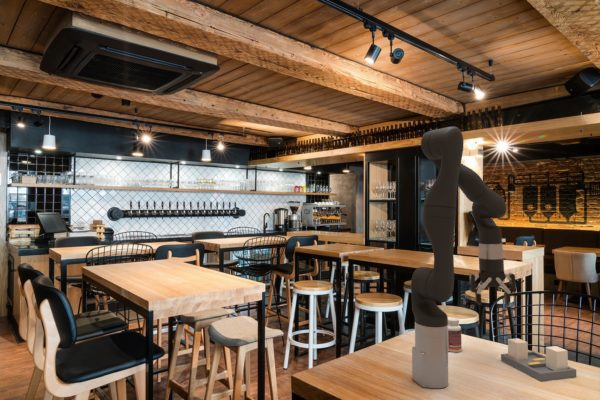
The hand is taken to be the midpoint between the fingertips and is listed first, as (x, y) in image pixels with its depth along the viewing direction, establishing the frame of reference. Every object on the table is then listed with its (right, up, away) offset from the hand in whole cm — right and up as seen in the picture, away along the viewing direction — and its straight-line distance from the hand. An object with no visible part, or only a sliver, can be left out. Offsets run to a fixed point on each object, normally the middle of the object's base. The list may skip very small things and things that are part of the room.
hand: (493, 304), depth 133 cm
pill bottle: (-10, -19, +9) cm, 23 cm away
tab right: (+14, -17, -11) cm, 25 cm away
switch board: (+10, -18, -8) cm, 22 cm away
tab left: (+6, -17, -4) cm, 18 cm away
